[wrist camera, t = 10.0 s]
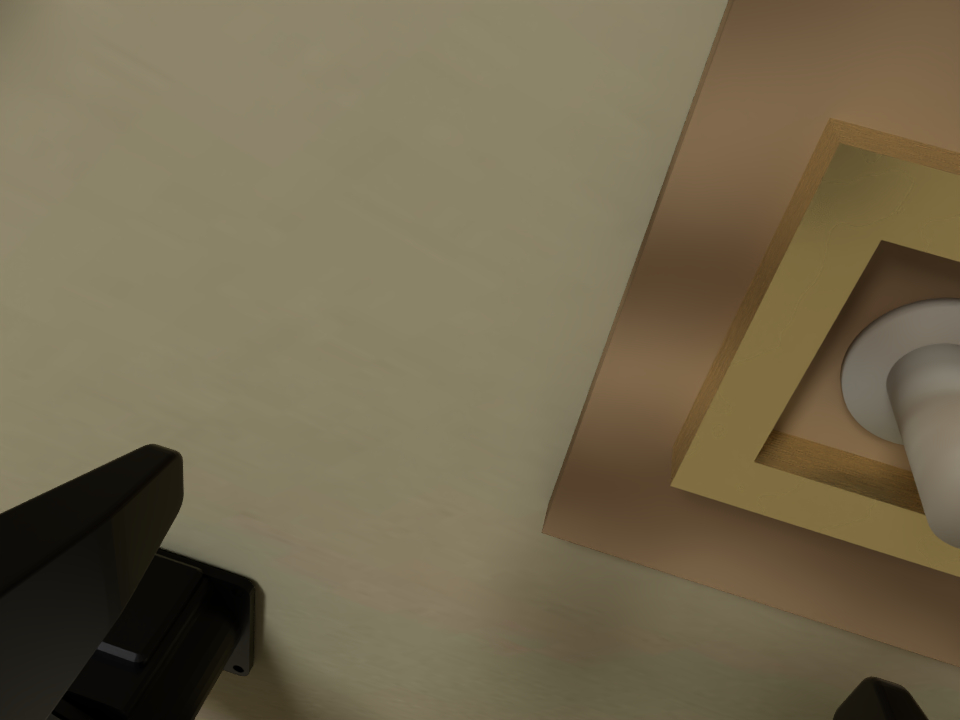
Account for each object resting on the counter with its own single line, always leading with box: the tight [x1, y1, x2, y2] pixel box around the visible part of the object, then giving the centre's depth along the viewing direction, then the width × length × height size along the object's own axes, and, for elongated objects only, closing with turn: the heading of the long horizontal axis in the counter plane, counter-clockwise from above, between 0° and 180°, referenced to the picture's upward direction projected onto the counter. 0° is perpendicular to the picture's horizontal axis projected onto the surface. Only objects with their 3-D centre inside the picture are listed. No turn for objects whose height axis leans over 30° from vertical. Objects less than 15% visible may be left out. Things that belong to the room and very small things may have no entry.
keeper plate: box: [542, 0, 960, 667], centre depth 16 cm, size 18×14×6 cm
